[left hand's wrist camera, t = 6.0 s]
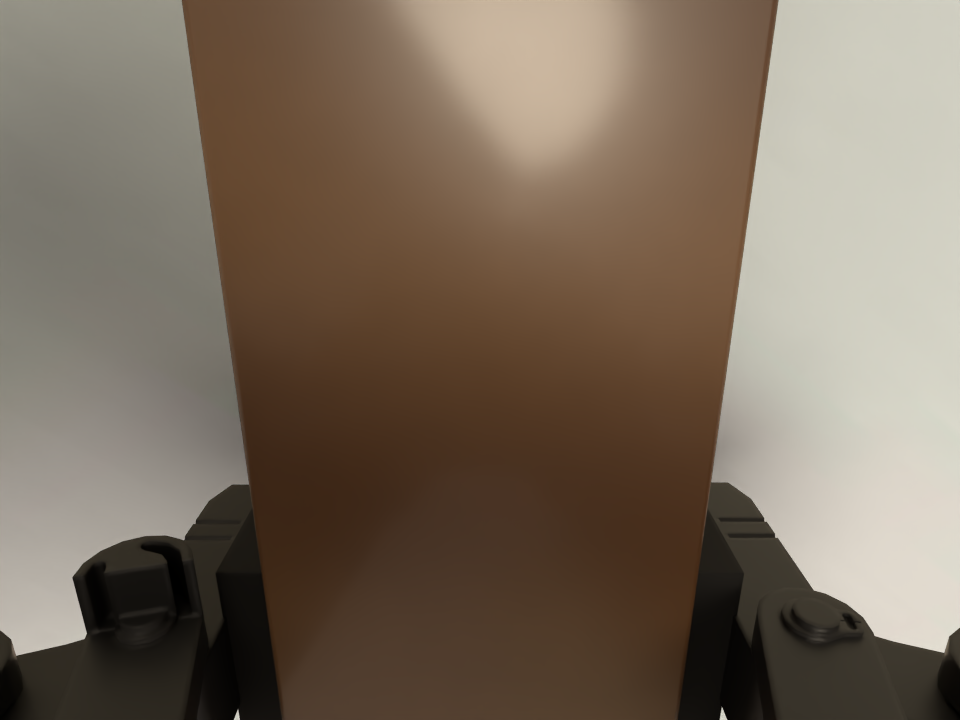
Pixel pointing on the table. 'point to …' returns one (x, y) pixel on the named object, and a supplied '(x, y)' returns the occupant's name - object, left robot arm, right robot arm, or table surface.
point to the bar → (480, 335)
